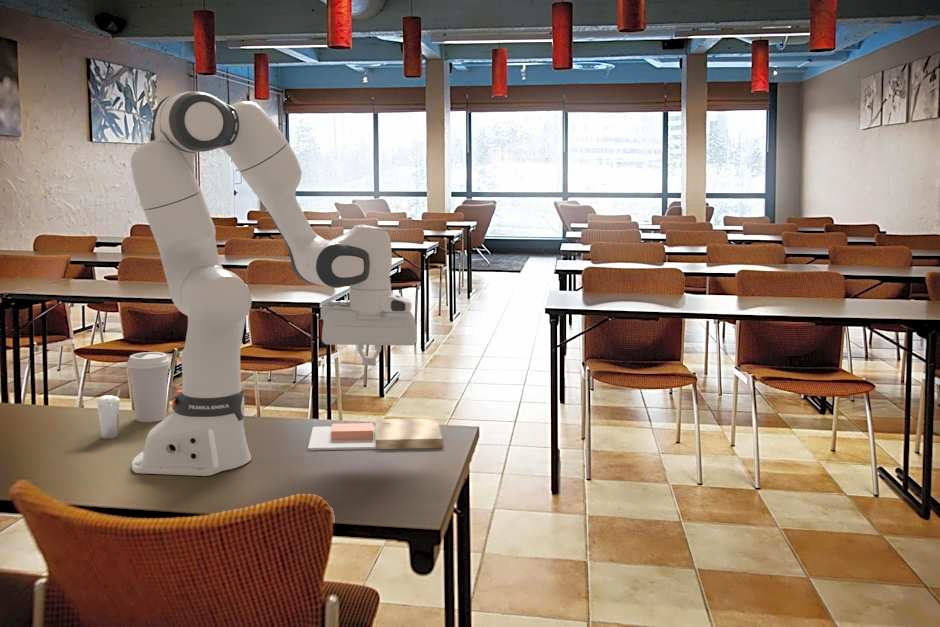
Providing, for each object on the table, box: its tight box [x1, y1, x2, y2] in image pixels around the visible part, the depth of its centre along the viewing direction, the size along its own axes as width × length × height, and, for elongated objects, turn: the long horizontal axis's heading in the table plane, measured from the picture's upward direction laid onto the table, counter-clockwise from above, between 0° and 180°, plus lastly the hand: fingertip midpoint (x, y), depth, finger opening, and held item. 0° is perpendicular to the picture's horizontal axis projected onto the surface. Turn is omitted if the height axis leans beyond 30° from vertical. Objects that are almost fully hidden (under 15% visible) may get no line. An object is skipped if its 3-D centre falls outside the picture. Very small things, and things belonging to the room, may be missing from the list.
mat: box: [307, 425, 377, 451], centre depth 198 cm, size 14×16×1 cm
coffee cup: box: [126, 351, 171, 423], centre depth 210 cm, size 10×10×15 cm
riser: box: [375, 417, 443, 450], centre depth 199 cm, size 14×16×2 cm
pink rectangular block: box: [331, 422, 374, 440], centre depth 198 cm, size 9×6×2 cm, turn 96°
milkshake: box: [96, 388, 121, 440], centre depth 196 cm, size 4×5×10 cm
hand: (369, 365), depth 195 cm, fingers closed
